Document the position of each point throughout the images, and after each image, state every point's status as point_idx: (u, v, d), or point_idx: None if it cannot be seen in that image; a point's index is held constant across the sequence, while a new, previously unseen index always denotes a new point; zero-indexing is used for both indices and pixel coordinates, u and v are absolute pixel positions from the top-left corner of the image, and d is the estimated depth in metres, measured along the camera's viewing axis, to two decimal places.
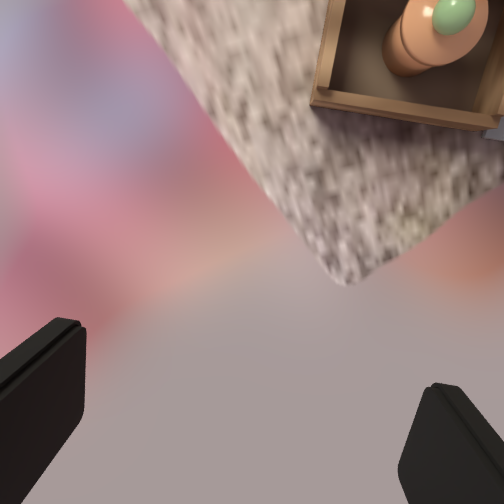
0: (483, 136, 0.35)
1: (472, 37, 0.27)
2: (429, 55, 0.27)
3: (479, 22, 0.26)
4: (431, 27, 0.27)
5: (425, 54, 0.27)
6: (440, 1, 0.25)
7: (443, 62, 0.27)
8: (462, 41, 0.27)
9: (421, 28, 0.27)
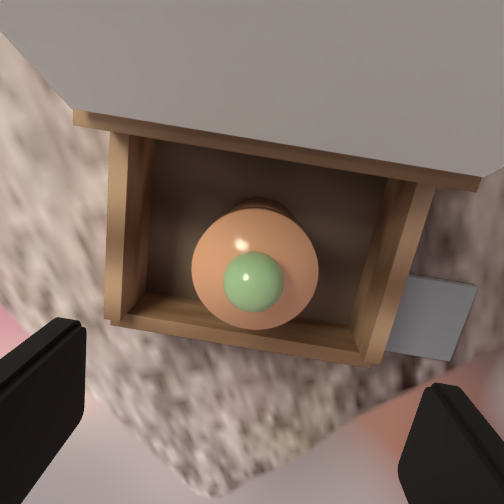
0: None
1: (298, 298, 0.17)
2: (237, 319, 0.18)
3: (306, 279, 0.17)
4: None
5: (230, 317, 0.18)
6: (226, 271, 0.15)
7: (259, 328, 0.18)
8: (283, 303, 0.17)
9: (218, 284, 0.17)
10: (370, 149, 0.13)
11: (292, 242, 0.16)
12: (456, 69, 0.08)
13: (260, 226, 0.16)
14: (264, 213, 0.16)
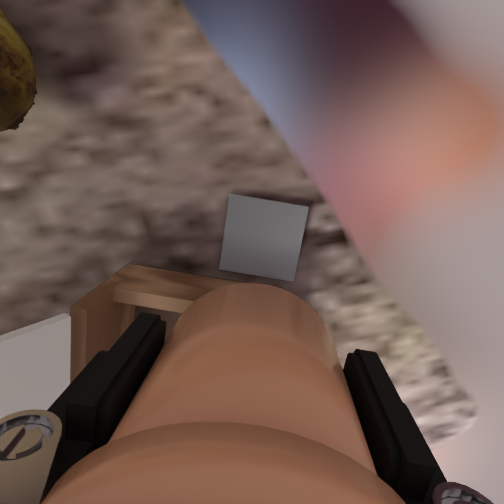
0: None
1: None
2: None
3: None
4: None
5: None
6: None
7: None
8: None
9: None
10: (58, 394, 0.20)
11: None
12: None
13: None
14: None
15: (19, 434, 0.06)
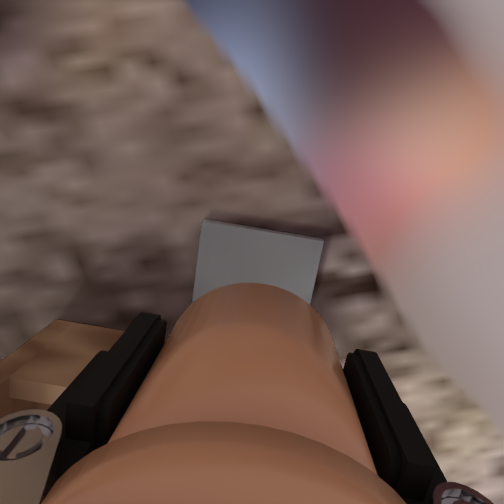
0: None
1: None
2: None
3: None
4: None
5: None
6: None
7: None
8: None
9: None
10: None
11: None
12: None
13: None
14: None
15: (19, 434, 0.06)
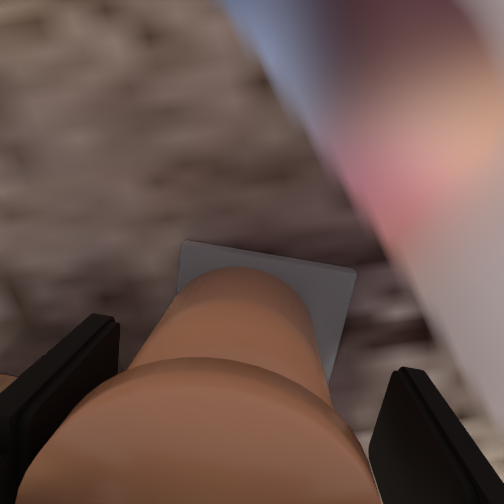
0: None
1: None
2: None
3: None
4: None
5: None
6: None
7: None
8: None
9: None
10: None
11: (313, 489, 0.05)
12: None
13: (210, 442, 0.05)
14: (222, 407, 0.05)
15: None
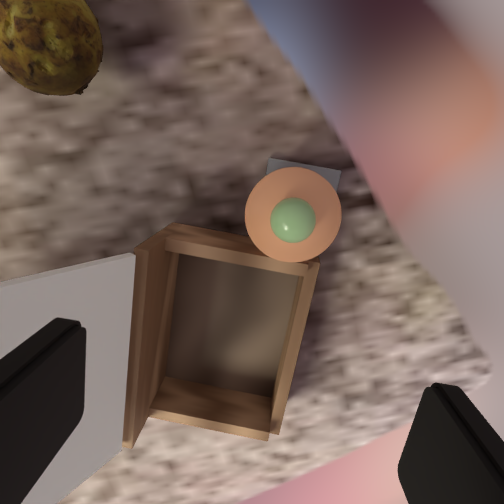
0: None
1: (325, 237, 0.23)
2: (277, 253, 0.23)
3: (332, 222, 0.22)
4: None
5: (272, 252, 0.23)
6: (273, 210, 0.21)
7: (294, 261, 0.23)
8: (314, 241, 0.23)
9: (264, 225, 0.23)
10: (122, 323, 0.23)
11: (322, 192, 0.22)
12: None
13: (298, 180, 0.22)
14: (302, 170, 0.21)
15: None
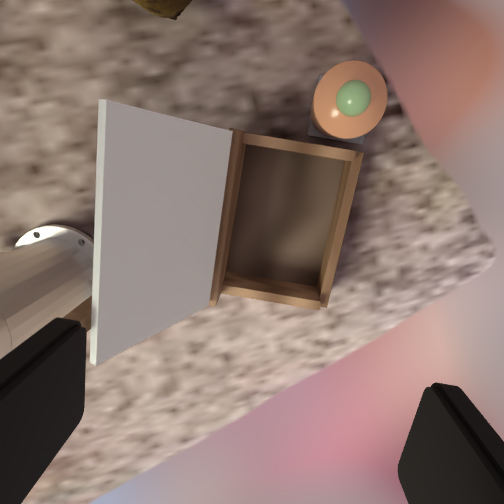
0: None
1: (374, 116, 0.30)
2: (337, 131, 0.30)
3: (380, 104, 0.30)
4: (337, 107, 0.30)
5: (334, 130, 0.30)
6: (340, 89, 0.28)
7: (350, 137, 0.31)
8: (366, 120, 0.30)
9: (329, 108, 0.30)
10: (220, 187, 0.30)
11: (373, 80, 0.29)
12: (187, 182, 0.26)
13: (356, 70, 0.29)
14: (358, 62, 0.29)
15: None
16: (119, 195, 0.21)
